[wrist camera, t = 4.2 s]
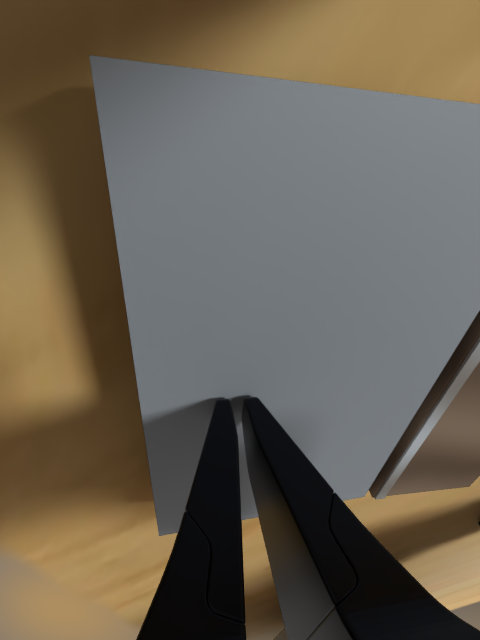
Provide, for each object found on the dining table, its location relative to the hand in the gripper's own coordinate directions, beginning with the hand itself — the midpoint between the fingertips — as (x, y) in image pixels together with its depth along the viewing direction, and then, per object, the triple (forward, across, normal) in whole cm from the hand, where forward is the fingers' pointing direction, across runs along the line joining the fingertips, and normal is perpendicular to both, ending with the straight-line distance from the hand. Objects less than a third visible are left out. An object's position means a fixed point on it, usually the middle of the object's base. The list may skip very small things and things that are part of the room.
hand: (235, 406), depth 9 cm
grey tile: (+1, -2, 0) cm, 3 cm away
